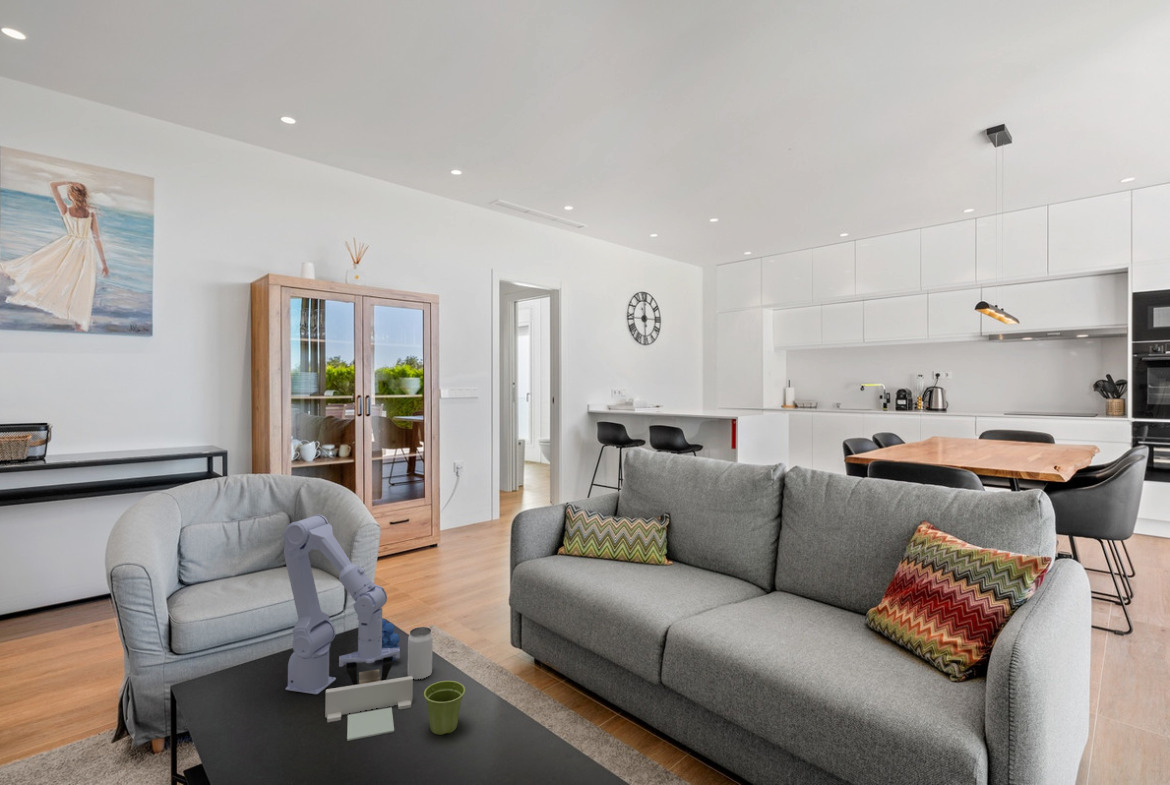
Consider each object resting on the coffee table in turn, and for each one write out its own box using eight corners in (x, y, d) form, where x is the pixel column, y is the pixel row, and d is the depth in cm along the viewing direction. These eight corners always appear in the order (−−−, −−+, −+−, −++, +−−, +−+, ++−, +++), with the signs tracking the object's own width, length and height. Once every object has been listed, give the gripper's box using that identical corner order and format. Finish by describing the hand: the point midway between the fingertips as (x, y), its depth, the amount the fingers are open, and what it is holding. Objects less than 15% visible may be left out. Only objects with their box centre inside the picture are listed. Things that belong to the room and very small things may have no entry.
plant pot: (472, 720, 139) (472, 685, 139) (450, 743, 130) (451, 705, 130) (438, 712, 142) (438, 677, 142) (414, 734, 134) (415, 697, 133)
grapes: (357, 661, 167) (357, 620, 166) (375, 652, 173) (375, 612, 172) (387, 671, 162) (388, 628, 161) (405, 661, 168) (406, 619, 167)
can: (435, 669, 163) (436, 627, 163) (426, 681, 157) (427, 637, 157) (413, 667, 164) (413, 625, 164) (403, 679, 158) (404, 635, 157)
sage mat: (347, 740, 131) (347, 739, 131) (347, 716, 140) (347, 714, 140) (394, 732, 134) (394, 730, 134) (391, 708, 144) (391, 707, 144)
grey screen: (324, 722, 137) (325, 697, 137) (326, 709, 143) (326, 684, 143) (413, 707, 144) (413, 683, 144) (411, 694, 150) (411, 671, 150)
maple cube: (358, 701, 146) (359, 682, 146) (358, 691, 151) (359, 672, 151) (380, 698, 148) (380, 678, 148) (379, 688, 153) (379, 669, 153)
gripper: (339, 647, 143) (338, 701, 143) (400, 638, 149) (400, 691, 149) (339, 635, 150) (339, 687, 150) (399, 627, 155) (398, 678, 155)
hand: (369, 688), depth 150 cm, fingers open, 6 cm apart
